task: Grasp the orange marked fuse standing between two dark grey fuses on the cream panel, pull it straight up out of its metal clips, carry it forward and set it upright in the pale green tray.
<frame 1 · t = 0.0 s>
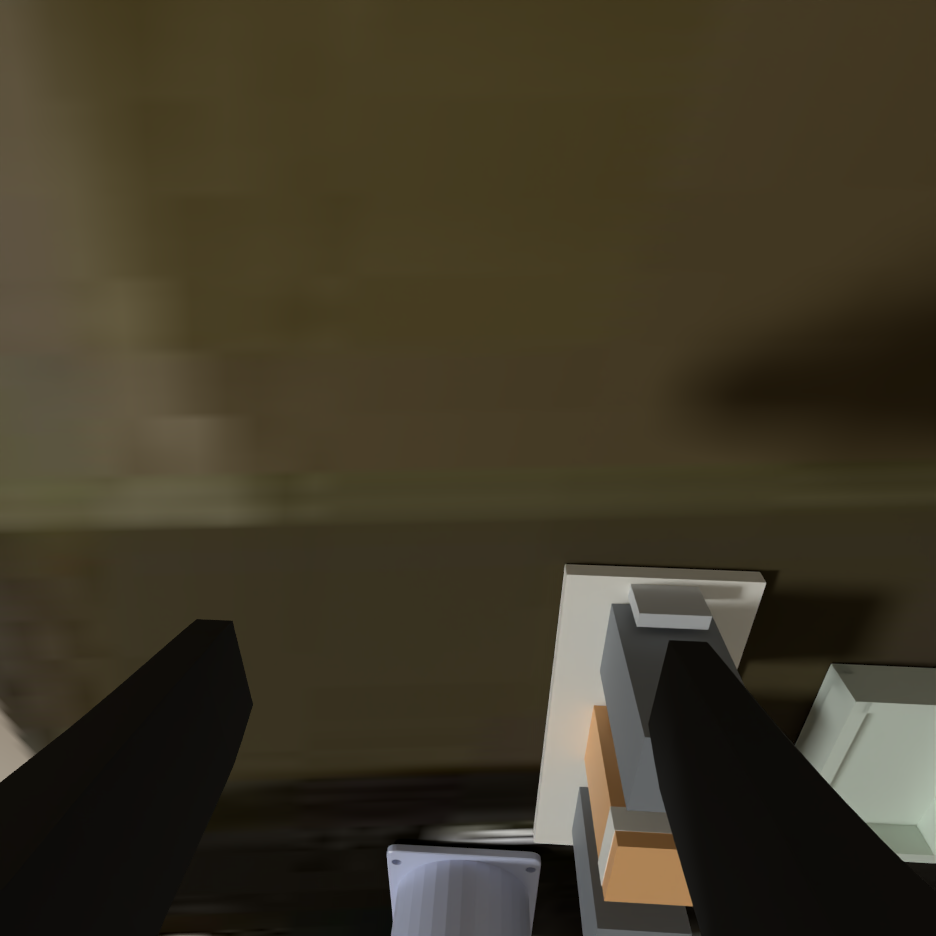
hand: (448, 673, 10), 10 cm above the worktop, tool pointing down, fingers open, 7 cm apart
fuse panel: (627, 722, 25), on the worktop
marked fuse: (630, 735, 25), point 1 cm above the worktop, touching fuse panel
tray: (878, 750, 25), on the worktop
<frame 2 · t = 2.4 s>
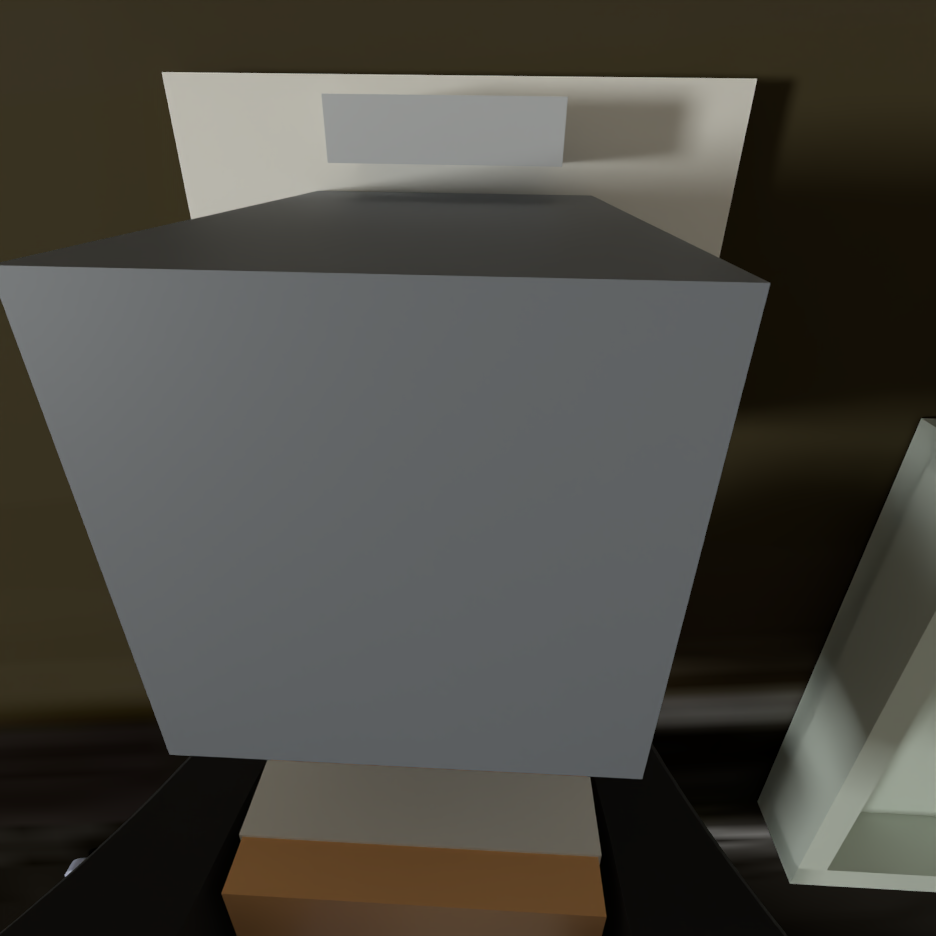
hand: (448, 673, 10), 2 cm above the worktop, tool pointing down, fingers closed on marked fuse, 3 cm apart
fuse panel: (455, 596, 11), on the worktop
marked fuse: (453, 618, 11), point 1 cm above the worktop, touching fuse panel, gripper
when the fingers open (3 cm above the worktop, at t = 6.1 s): marked fuse stays where it is, resting on tray.
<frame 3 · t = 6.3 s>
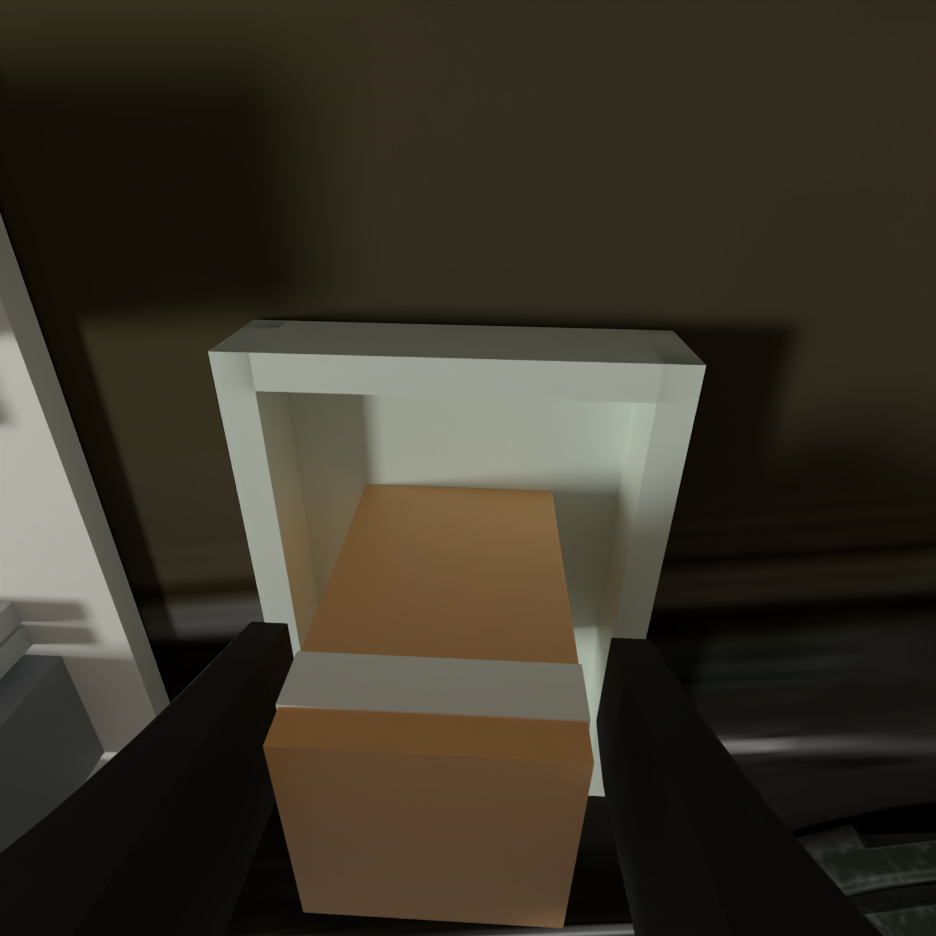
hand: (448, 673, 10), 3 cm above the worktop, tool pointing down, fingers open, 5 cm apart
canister: (874, 931, 19), on the worktop
marked fuse: (458, 561, 12), resting on tray
tray: (458, 562, 12), on the worktop
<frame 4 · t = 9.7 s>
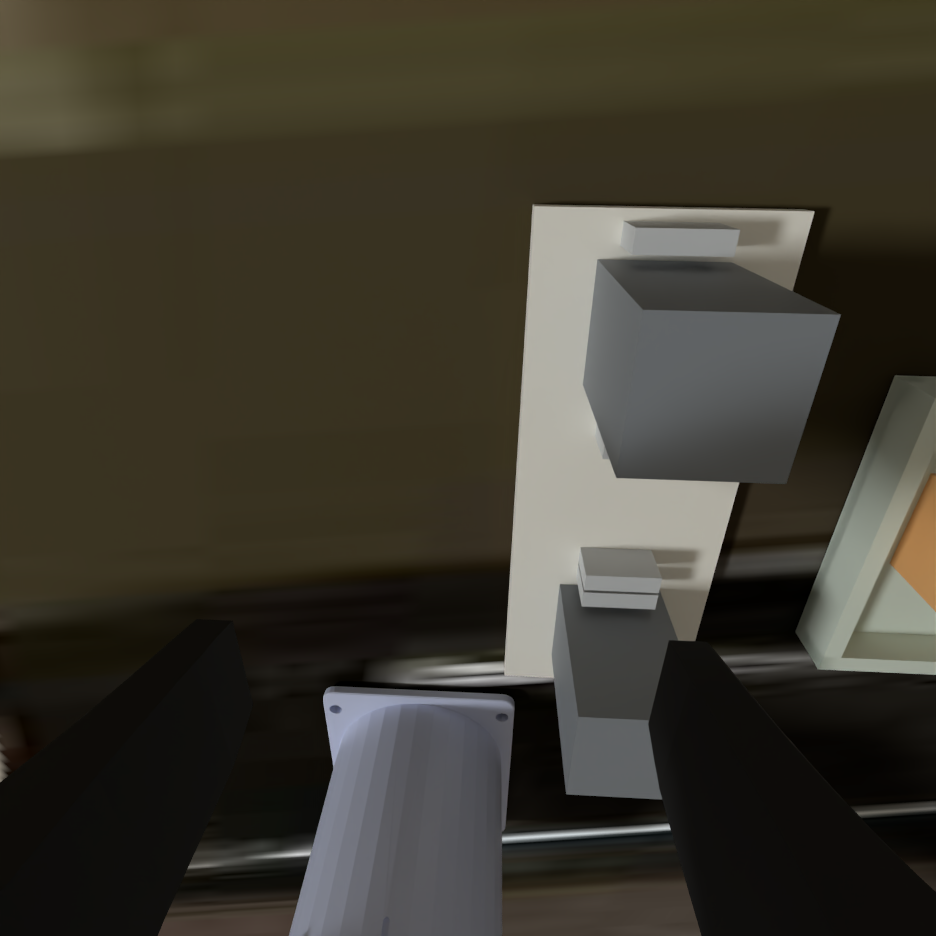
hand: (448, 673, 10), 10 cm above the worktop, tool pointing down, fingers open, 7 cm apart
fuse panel: (621, 486, 19), on the worktop
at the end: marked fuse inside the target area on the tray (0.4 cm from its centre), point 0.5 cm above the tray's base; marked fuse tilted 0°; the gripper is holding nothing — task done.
